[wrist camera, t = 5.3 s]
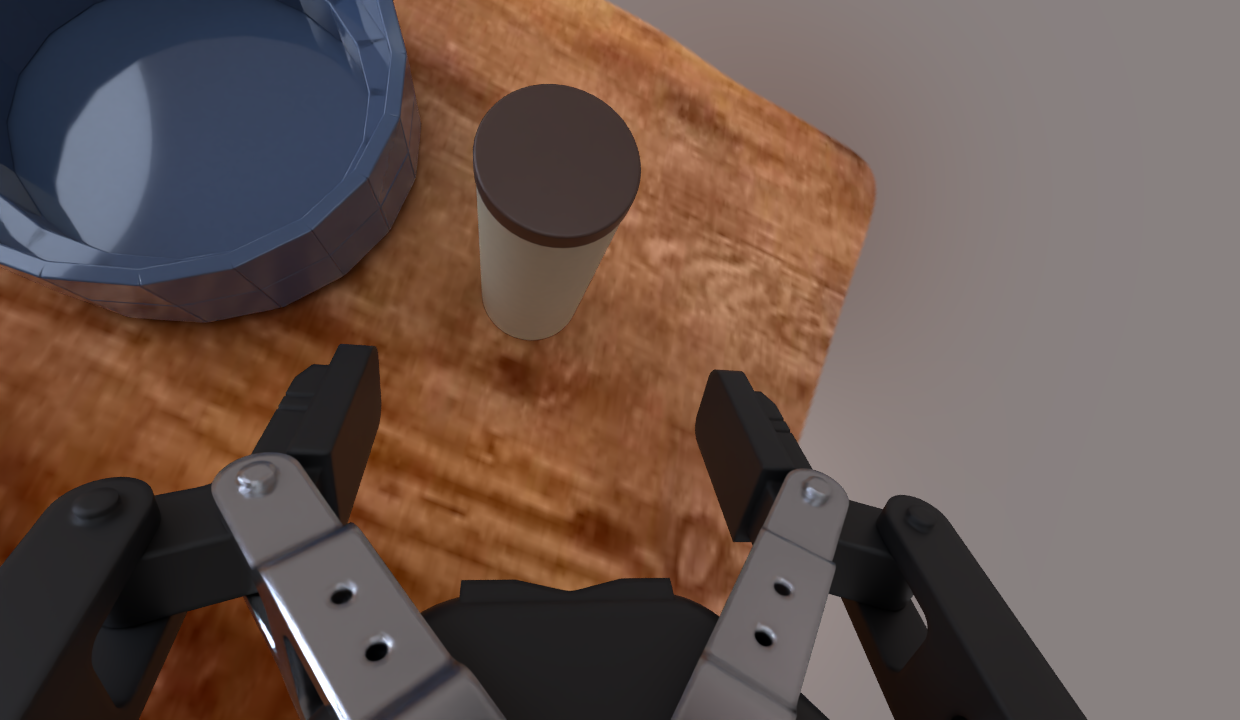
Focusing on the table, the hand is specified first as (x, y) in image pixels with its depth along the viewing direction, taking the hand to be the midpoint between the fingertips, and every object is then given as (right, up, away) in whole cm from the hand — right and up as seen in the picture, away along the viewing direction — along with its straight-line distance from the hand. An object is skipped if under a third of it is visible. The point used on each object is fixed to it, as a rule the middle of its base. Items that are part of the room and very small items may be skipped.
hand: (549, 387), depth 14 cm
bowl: (-16, +11, +11) cm, 22 cm away
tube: (-2, +4, +13) cm, 14 cm away
